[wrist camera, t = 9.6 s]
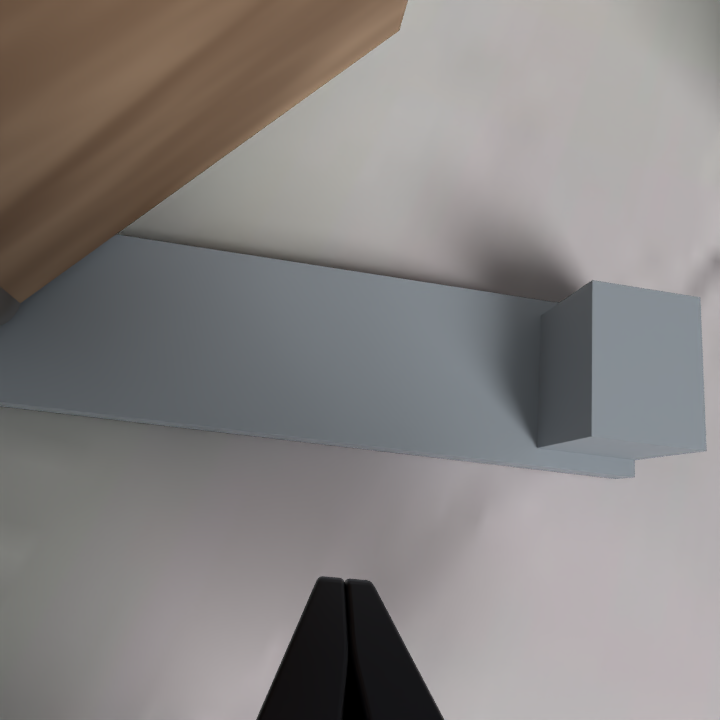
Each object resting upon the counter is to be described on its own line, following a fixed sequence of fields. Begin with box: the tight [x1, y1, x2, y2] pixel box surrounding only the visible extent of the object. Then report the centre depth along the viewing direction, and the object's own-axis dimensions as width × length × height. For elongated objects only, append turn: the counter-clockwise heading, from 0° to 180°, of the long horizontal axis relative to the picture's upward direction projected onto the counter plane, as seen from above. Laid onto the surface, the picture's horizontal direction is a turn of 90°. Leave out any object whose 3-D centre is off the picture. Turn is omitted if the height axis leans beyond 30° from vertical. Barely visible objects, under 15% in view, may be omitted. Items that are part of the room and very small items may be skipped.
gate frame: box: [0, 234, 706, 479], centre depth 16 cm, size 5×23×4 cm, turn 84°
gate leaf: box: [0, 0, 408, 326], centre depth 13 cm, size 2×15×9 cm, turn 133°
